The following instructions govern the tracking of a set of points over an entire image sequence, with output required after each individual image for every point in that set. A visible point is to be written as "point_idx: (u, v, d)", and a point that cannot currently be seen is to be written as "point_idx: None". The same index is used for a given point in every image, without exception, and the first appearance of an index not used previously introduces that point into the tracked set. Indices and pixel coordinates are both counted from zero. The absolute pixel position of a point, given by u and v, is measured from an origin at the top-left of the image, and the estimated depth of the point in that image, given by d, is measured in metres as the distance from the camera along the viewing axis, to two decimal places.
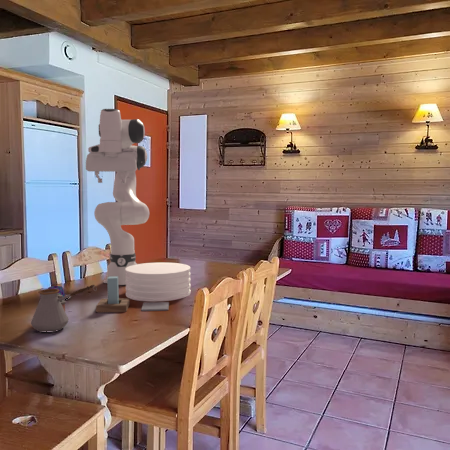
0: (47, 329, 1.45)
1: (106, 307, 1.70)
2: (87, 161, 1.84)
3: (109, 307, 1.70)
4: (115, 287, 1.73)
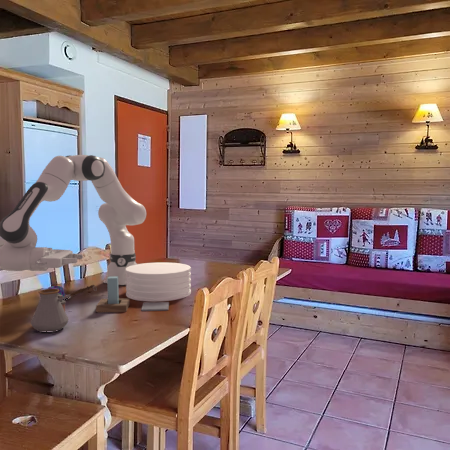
0: (47, 329, 1.45)
1: (106, 307, 1.70)
2: None
3: (109, 307, 1.70)
4: (115, 287, 1.73)
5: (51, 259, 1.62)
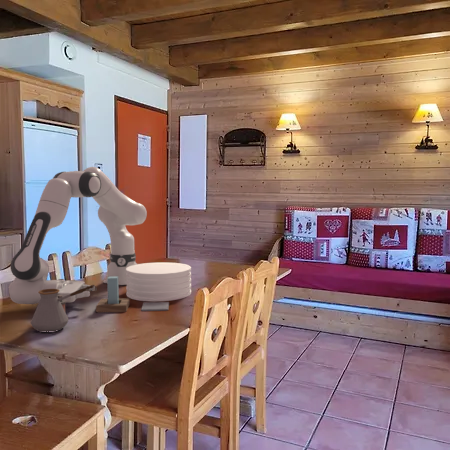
0: (47, 329, 1.45)
1: (106, 307, 1.70)
2: None
3: (109, 307, 1.70)
4: (115, 287, 1.73)
5: (64, 294, 1.64)
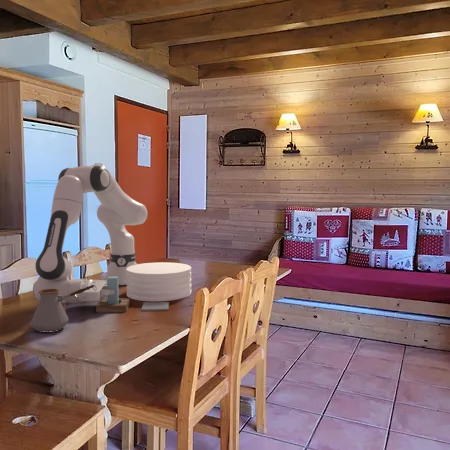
0: (47, 329, 1.45)
1: (106, 307, 1.70)
2: None
3: (109, 307, 1.70)
4: (115, 287, 1.73)
5: (90, 293, 1.65)
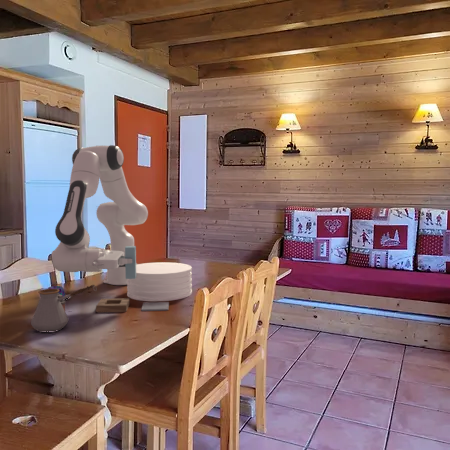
0: (47, 329, 1.45)
1: (106, 307, 1.70)
2: None
3: (109, 307, 1.70)
4: (133, 256, 1.73)
5: (108, 260, 1.64)
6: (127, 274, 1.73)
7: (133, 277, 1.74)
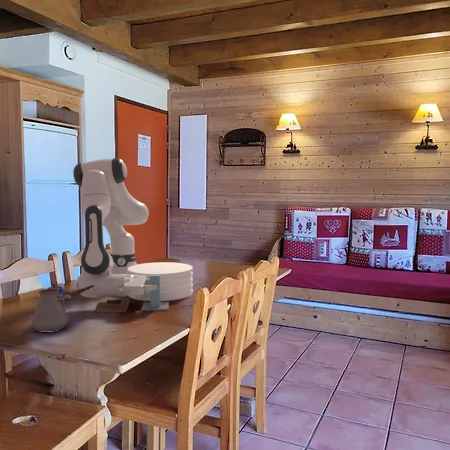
0: (47, 329, 1.45)
1: (106, 307, 1.70)
2: None
3: (109, 307, 1.70)
4: (158, 285, 1.75)
5: (135, 287, 1.66)
6: (152, 302, 1.75)
7: (158, 305, 1.76)
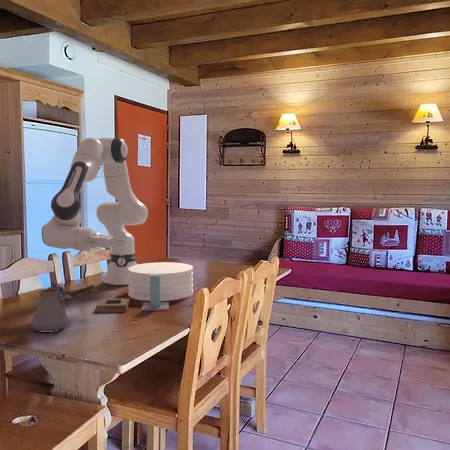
0: (47, 329, 1.45)
1: (106, 307, 1.70)
2: None
3: (109, 307, 1.70)
4: (158, 285, 1.75)
5: (101, 239, 1.65)
6: (152, 302, 1.75)
7: (158, 305, 1.76)
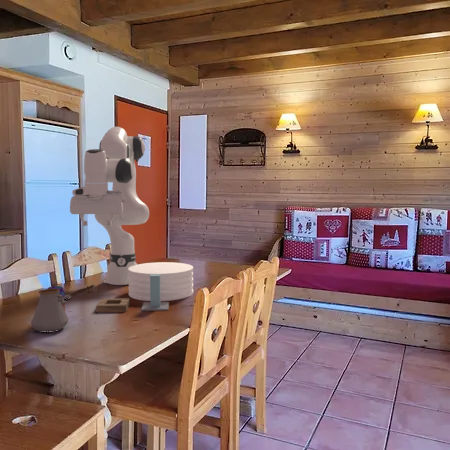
0: (47, 329, 1.45)
1: (106, 307, 1.70)
2: (71, 204, 1.78)
3: (109, 307, 1.70)
4: (158, 285, 1.75)
5: (122, 206, 1.83)
6: (152, 302, 1.75)
7: (158, 305, 1.76)
